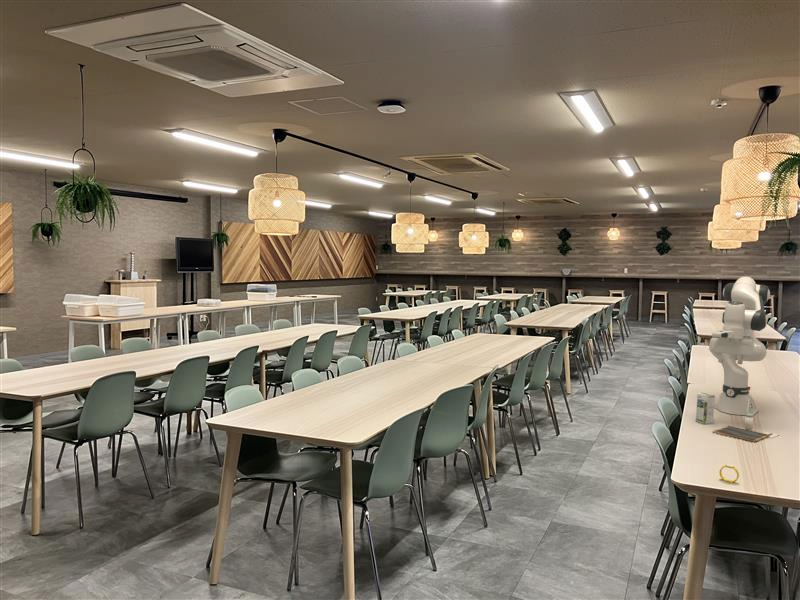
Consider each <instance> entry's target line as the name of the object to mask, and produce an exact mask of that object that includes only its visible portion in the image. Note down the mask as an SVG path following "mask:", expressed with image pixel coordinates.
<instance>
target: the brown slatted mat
mask: <svg viewBox="0 0 800 600" xmlns="http://www.w3.org/2000/svg"><path fill="white" fill-rule="evenodd" d="M714 433H716V434H715V435H719V434H720V435H719V436H723V435H724V436H723V437H727V436H729V437H728V438H731V437H733V438H732V439H736V438H737V439H736V440H740V439H742V440H741V441H744V440H745V442H748V441H750V442H749V443H753V442H754V444H755V442H756V443H758V442H761V441H764V440H765V438H766V439H769V436H770V435H768V434H764V433H765V432H759V431H754V430H752V431H750V430H746V429H745V428H741V427H738V426H737V427H736V426H732V425H727V426H724V427H721V428H718V429H715V430H713V431H712V434H714ZM760 440H761V441H760Z"/></svg>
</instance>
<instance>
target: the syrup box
mask: <svg viewBox="0 0 800 600" xmlns="http://www.w3.org/2000/svg"><path fill="white" fill-rule="evenodd" d="M715 398H716V396H715V394H711V393H708V392H704V391H703V392H697V395H696V411H695V422H696V421H697V422H698V423H700V424H703V425H710V424H713V423H714V413H715Z"/></svg>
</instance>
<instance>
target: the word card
mask: <svg viewBox="0 0 800 600" xmlns="http://www.w3.org/2000/svg"><path fill="white" fill-rule="evenodd" d="M763 433H764V434H768V435H770V436H769V437H770V439H773V437H774V438H777V437H779V436H778V435H779V433H778V434H777V433H772V432H768V431H766V432H763ZM769 437H768V438H769Z"/></svg>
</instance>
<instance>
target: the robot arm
mask: <svg viewBox="0 0 800 600" xmlns="http://www.w3.org/2000/svg"><path fill="white" fill-rule="evenodd" d="M722 296H723V298H724V300H725V301H726V302H727V303H726V304H725V308H724V312H722V320H721V322H722V324H723V326H722V330H718V331H713V332H712V333H711V337H712V338H710V340H709V345H708V347H709V348H708V350H709V352H710V353H711V354H712V356H713V357H715V359H717V361H718V363H720V364H721V366H722V369H723V385H722V387H721V388H722V392H721V393H719V398H718V405H715V410H718V411H720V412H721V413H726V414H729V415H736V416H737V415H738V416H745V413H750V414H754V416H755V415H756V414H757V413H758V412H759V409H758V408H755V407H754V406H755V405H754V404H755V403H754V402H755V401H754V399H753V398H752V397H751V395H750V390H751V389H752V388H751V386H748V385H749V373H748V371H747V370H746V369H745V368H744V367H741V366H740V365H743V363H744V362H761V361H763V360H764V359H765V358H766V355H767V347H766V346H765V344H764V343H763V342H761V341H759V339H758V338H757V337H756V336H755V333H754V331H755V332H756V331H757V332H761V331H762V330H764V329H765V328H766V327H767V325H768V316H767V313H766V310H765V305H766V303H767V302H768V300H770V297H771V291H770V288H769V286H768V285H765V284H757V283H756V281H755V280H754V279H753V278H752V277H750V276H740V277H739V278H738V279H737V280H736V281H735V282H729V283H727V284H725V286H724V288H723V291H722Z"/></svg>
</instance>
